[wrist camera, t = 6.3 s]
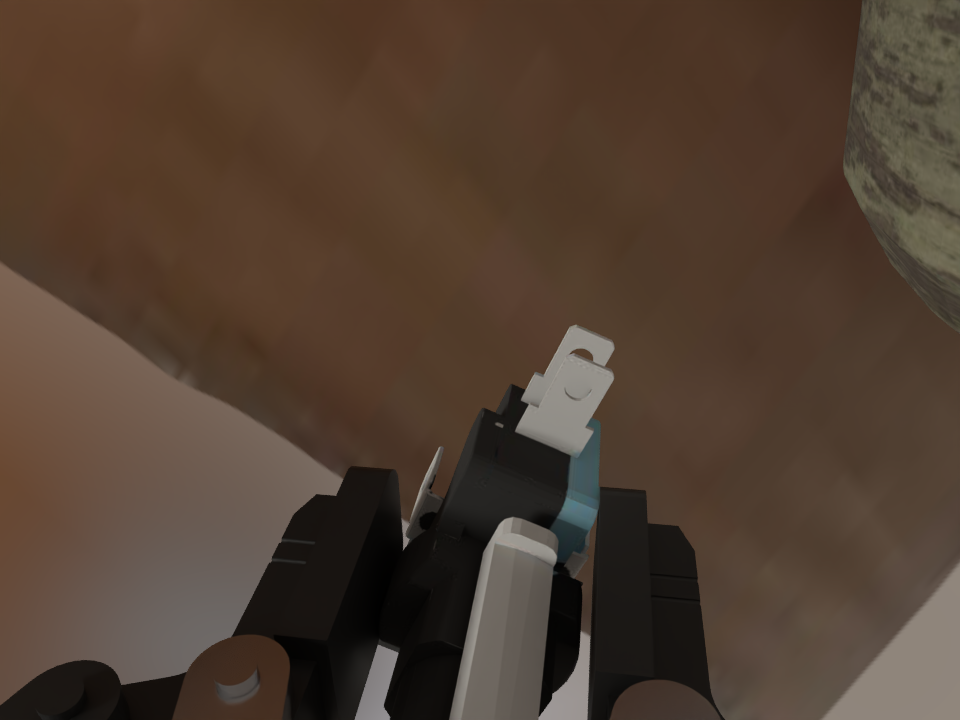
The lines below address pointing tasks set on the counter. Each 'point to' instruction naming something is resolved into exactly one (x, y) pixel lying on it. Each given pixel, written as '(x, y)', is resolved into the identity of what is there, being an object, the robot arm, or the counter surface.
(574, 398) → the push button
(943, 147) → the tabletop clock
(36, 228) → the counter surface
